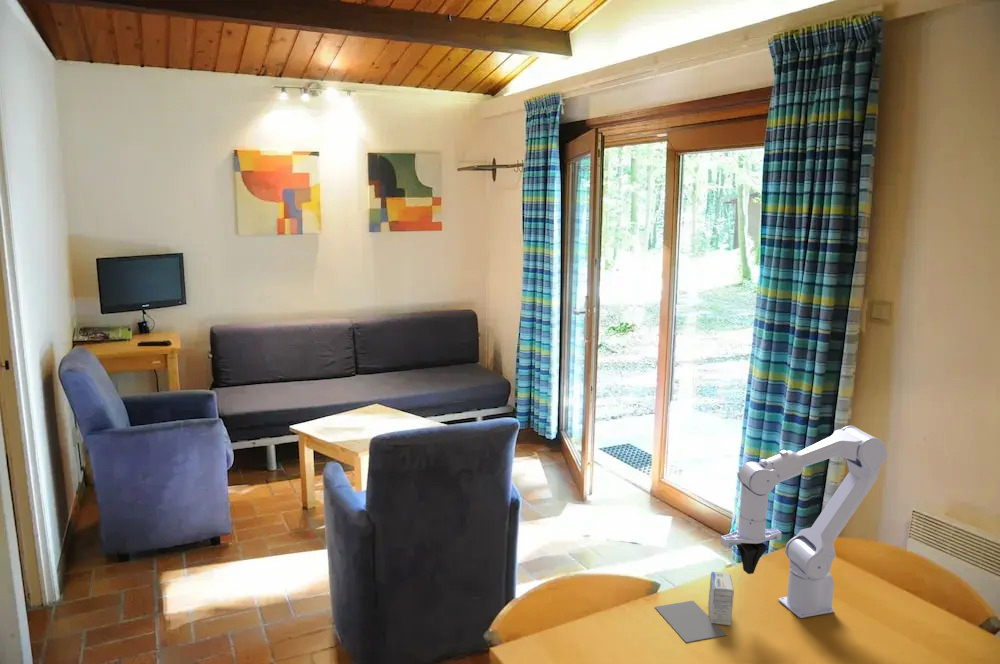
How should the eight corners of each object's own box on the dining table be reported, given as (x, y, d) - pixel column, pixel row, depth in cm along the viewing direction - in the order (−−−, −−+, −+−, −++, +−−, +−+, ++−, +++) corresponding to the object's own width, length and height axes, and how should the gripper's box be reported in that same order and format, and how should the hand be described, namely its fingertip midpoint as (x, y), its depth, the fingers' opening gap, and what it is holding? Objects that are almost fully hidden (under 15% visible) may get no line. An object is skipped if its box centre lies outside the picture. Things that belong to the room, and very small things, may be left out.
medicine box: (731, 626, 163) (734, 590, 161) (710, 623, 163) (713, 587, 162) (727, 607, 170) (731, 573, 169) (707, 604, 171) (710, 570, 170)
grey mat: (693, 601, 173) (693, 600, 173) (726, 635, 160) (726, 634, 160) (654, 607, 170) (654, 606, 170) (685, 642, 157) (685, 641, 157)
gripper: (769, 505, 170) (765, 559, 173) (714, 511, 166) (710, 567, 169) (789, 518, 163) (784, 574, 166) (732, 525, 159) (728, 582, 162)
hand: (748, 571), depth 167 cm, fingers closed
